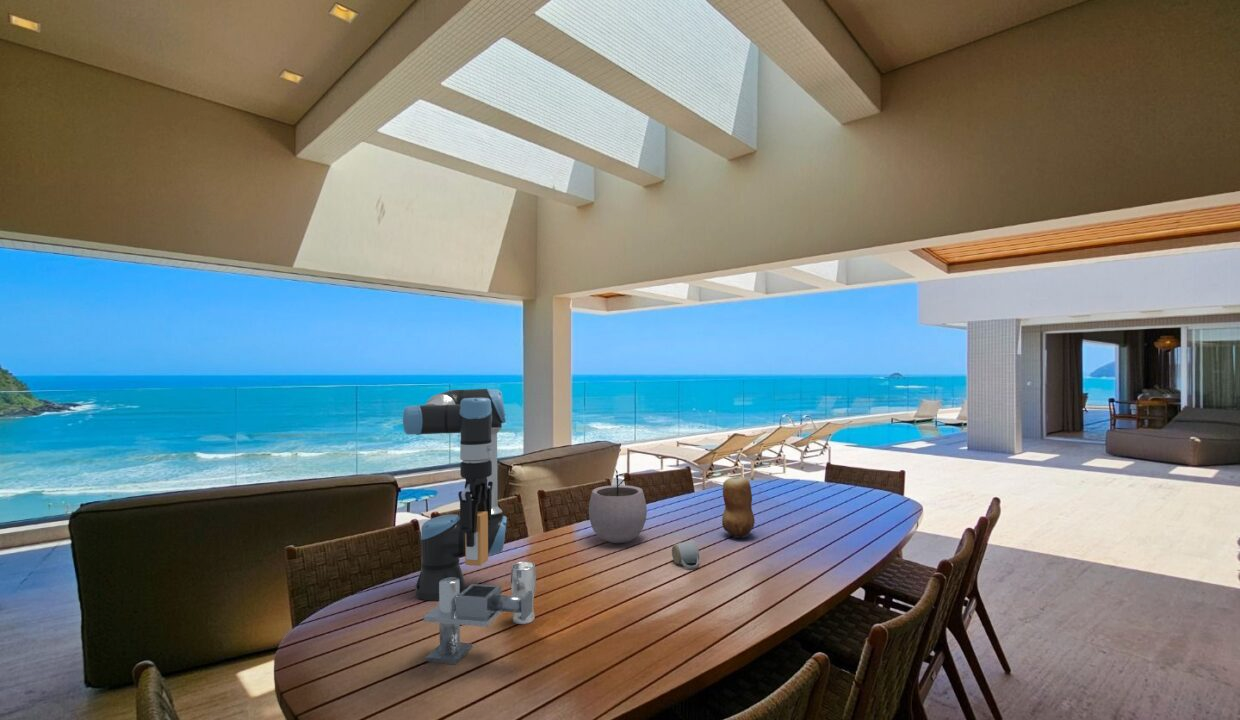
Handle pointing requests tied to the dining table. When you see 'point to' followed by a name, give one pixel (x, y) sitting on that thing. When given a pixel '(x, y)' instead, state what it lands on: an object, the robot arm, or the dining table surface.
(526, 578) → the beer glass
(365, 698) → the dining table surface
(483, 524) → the tan wooden block
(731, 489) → the butternut squash
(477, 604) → the bracket
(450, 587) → the metal pedestal stand
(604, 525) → the plant pot
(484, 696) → the dining table surface
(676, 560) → the ceramic mug
